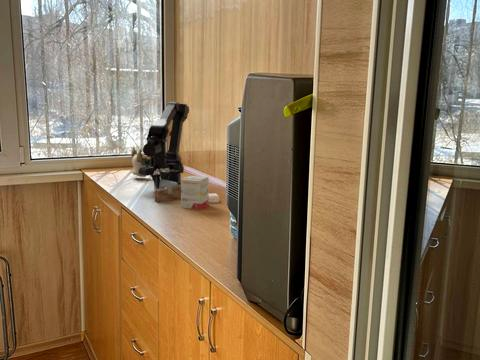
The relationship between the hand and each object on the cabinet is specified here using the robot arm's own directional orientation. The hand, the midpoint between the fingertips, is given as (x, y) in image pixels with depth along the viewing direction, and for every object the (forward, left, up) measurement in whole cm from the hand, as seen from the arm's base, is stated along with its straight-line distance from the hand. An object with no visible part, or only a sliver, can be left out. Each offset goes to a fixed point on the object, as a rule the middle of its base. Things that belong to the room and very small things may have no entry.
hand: (159, 188), depth 216 cm
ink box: (+7, +30, -2) cm, 31 cm away
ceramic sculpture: (-11, -28, -1) cm, 30 cm away
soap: (-3, +27, -2) cm, 27 cm away
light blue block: (0, +4, -1) cm, 4 cm away
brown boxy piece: (+7, +15, -1) cm, 17 cm away
